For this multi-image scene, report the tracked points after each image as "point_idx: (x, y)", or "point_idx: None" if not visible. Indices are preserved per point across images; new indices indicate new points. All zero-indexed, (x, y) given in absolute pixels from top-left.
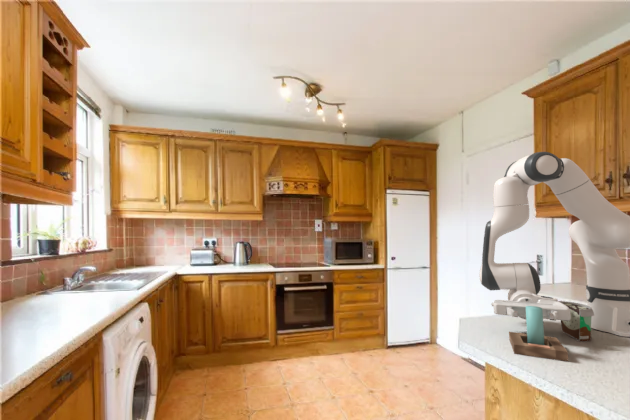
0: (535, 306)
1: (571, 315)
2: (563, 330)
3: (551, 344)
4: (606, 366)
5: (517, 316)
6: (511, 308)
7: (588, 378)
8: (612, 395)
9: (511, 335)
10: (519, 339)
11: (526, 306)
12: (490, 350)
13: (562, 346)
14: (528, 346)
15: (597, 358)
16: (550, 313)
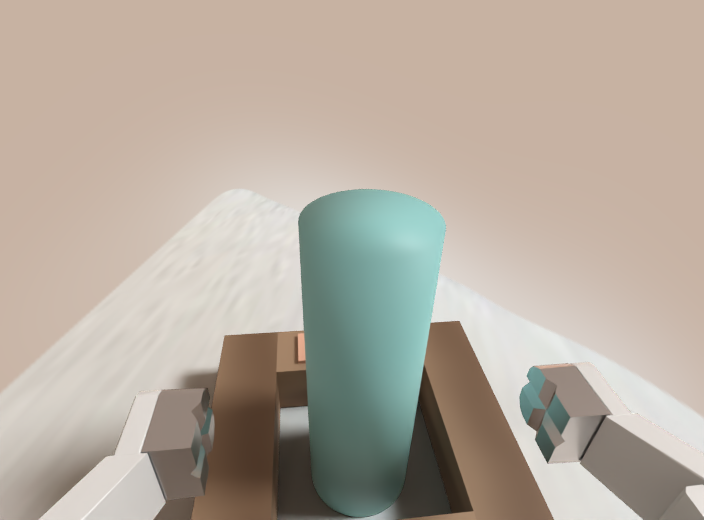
0: (355, 255)
1: None
2: None
3: (274, 406)
4: (69, 392)
5: (522, 396)
6: (683, 497)
7: (223, 271)
8: (210, 222)
9: (523, 472)
10: (453, 408)
11: (438, 229)
12: (548, 345)
13: (218, 401)
14: None
15: (19, 498)
16: (177, 423)
